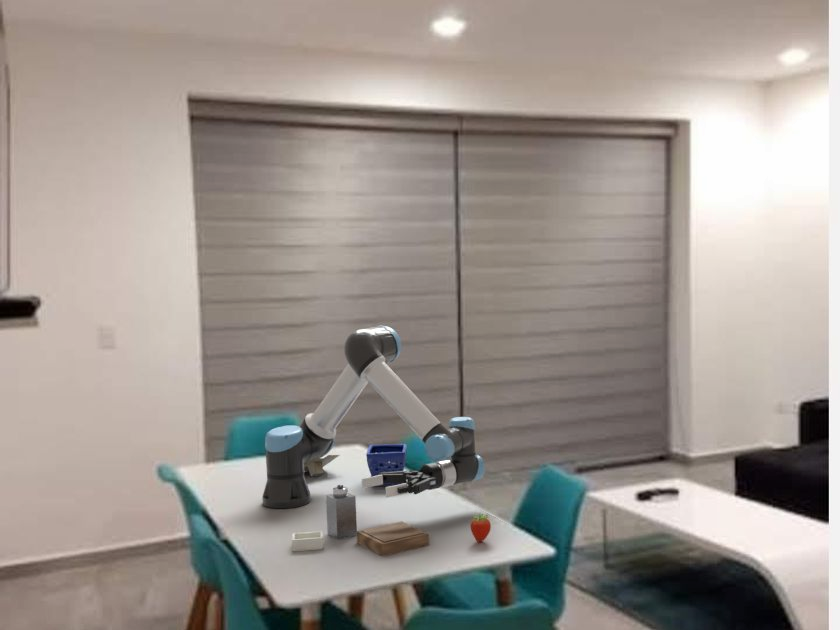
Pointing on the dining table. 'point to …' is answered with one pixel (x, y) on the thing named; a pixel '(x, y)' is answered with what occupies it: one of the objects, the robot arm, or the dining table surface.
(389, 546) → the stand
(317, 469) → the wall
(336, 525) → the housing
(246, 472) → the dining table surface
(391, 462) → the flower pot
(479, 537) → the fruit
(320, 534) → the box
